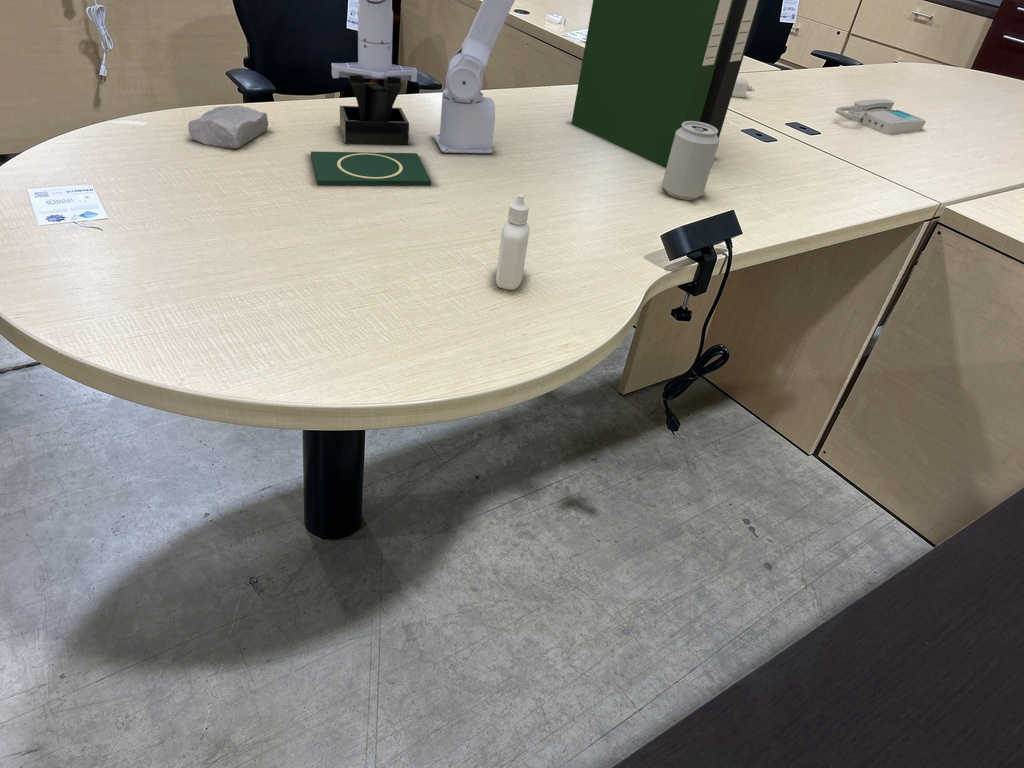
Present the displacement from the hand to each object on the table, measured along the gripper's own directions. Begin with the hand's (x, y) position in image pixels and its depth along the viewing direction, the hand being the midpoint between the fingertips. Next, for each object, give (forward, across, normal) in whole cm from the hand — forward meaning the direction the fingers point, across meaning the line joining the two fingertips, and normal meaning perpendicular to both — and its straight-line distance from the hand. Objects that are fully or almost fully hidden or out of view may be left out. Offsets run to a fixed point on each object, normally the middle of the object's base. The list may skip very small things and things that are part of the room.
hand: (374, 120), depth 132 cm
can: (+3, +51, -25) cm, 57 cm away
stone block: (+3, -25, -1) cm, 25 cm away
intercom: (+3, +128, +17) cm, 129 cm away
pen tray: (+3, 0, 0) cm, 3 cm away
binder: (+3, +55, +1) cm, 55 cm away
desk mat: (+3, -3, -16) cm, 17 cm away
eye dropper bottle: (+3, +10, -53) cm, 54 cm away
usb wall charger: (+3, +100, +36) cm, 106 cm away
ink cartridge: (+2, 0, 0) cm, 2 cm away
